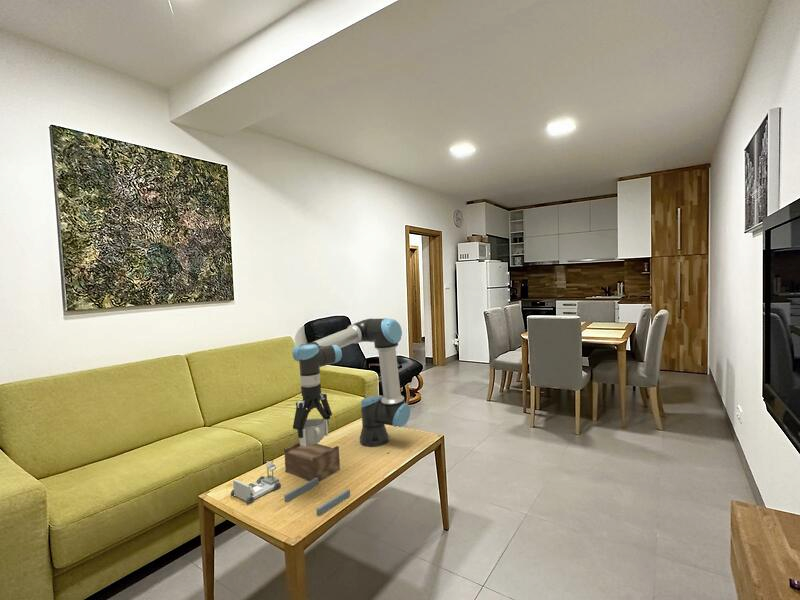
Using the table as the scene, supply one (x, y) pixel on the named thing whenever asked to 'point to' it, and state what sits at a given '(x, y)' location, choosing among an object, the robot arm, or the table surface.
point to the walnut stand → (311, 461)
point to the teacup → (314, 431)
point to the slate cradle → (325, 506)
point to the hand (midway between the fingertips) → (314, 440)
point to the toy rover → (256, 486)
